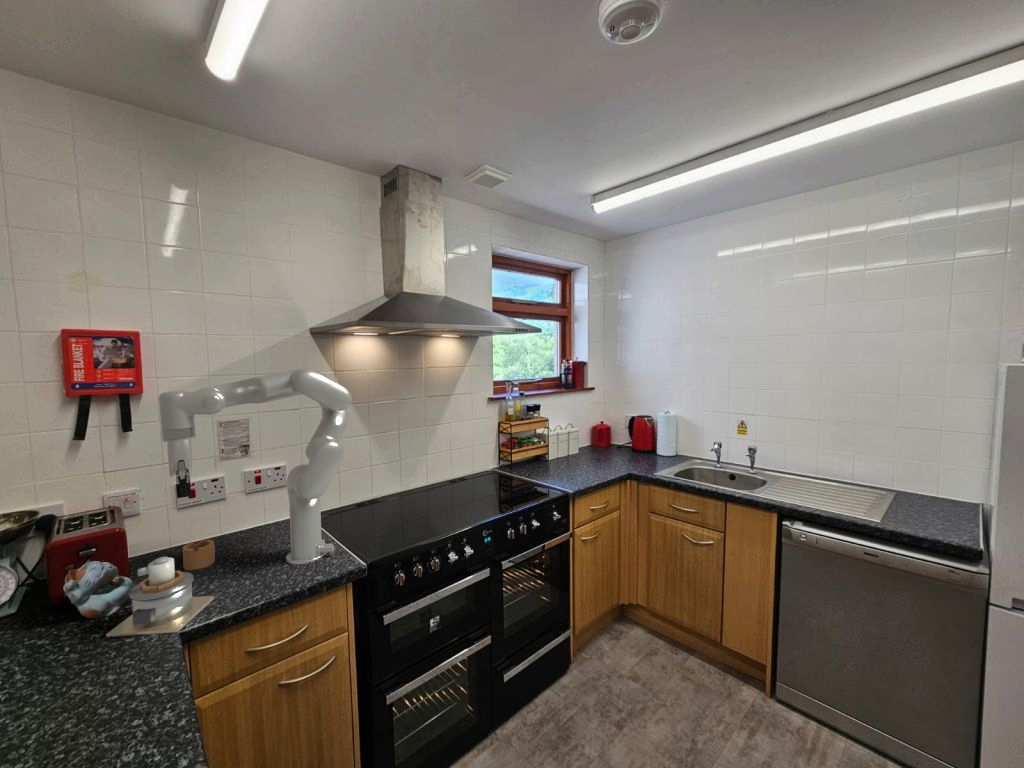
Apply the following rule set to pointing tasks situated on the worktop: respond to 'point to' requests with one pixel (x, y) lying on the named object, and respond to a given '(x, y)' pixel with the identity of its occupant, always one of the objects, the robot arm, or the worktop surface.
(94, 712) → the worktop surface
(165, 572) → the drain pump
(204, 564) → the brown rounded piece
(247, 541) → the worktop surface
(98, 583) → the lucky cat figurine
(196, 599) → the cylinder on square plate
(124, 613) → the worktop surface
